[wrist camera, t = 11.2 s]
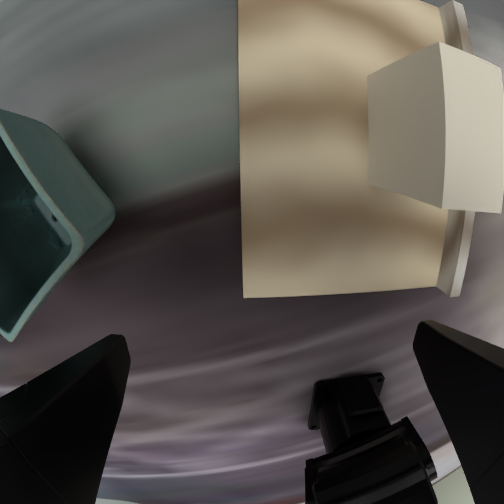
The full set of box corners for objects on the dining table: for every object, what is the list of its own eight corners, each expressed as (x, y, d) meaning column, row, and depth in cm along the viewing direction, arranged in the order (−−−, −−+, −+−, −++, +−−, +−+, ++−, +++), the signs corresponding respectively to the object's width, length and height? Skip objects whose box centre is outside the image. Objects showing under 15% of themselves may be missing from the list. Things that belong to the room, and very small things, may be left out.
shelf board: (440, 280, 21) (460, 295, 19) (243, 291, 21) (243, 313, 18) (443, 16, 14) (464, 5, 11) (238, -22, 14) (238, -44, 11)
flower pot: (75, 111, 16) (-14, 100, 8) (150, 204, 19) (87, 246, 10) (11, 197, 18) (-70, 227, 9) (75, 281, 20) (10, 346, 12)
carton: (367, 183, 18) (441, 208, 10) (367, 75, 16) (438, 41, 8) (422, 187, 18) (503, 213, 10) (422, 87, 16) (503, 69, 8)
